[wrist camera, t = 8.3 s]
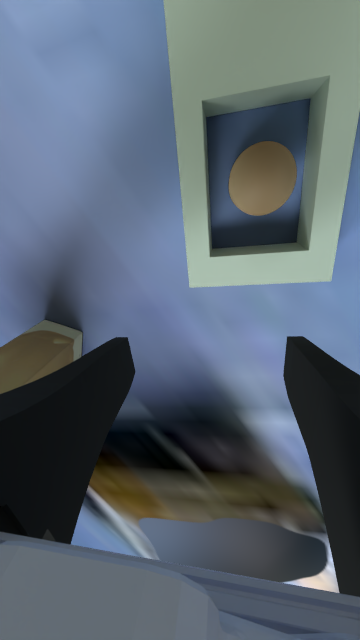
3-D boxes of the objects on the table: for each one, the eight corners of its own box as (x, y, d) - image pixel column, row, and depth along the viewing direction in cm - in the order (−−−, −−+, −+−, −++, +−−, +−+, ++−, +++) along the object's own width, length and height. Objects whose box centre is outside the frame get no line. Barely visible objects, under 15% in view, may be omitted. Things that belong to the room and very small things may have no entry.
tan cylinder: (283, 149, 15) (300, 135, 12) (279, 209, 17) (293, 212, 13) (228, 158, 16) (228, 146, 12) (229, 214, 17) (229, 218, 14)
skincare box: (80, 376, 27) (-16, 495, 16) (44, 365, 27) (-76, 474, 16) (84, 328, 24) (-32, 434, 13) (43, 315, 24) (-105, 410, 13)
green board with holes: (418, -483, 8) (518, -837, 5) (315, 268, 18) (331, 281, 15) (146, -329, 9) (115, -531, 7) (194, 275, 20) (189, 287, 17)
